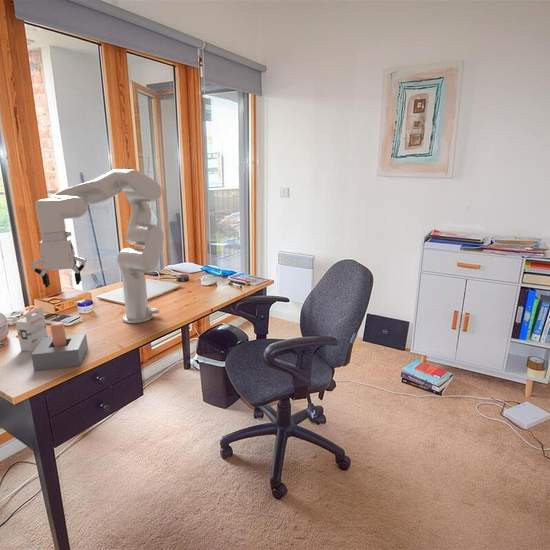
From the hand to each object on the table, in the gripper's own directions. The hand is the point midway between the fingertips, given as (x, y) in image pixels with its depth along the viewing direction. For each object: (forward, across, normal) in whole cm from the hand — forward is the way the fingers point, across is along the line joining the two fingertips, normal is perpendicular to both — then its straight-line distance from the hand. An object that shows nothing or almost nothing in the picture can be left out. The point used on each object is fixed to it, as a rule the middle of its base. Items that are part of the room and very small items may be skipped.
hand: (63, 284), depth 137 cm
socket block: (+25, +3, +6) cm, 26 cm away
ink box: (+25, +15, -7) cm, 30 cm away
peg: (+25, +3, +6) cm, 26 cm away
